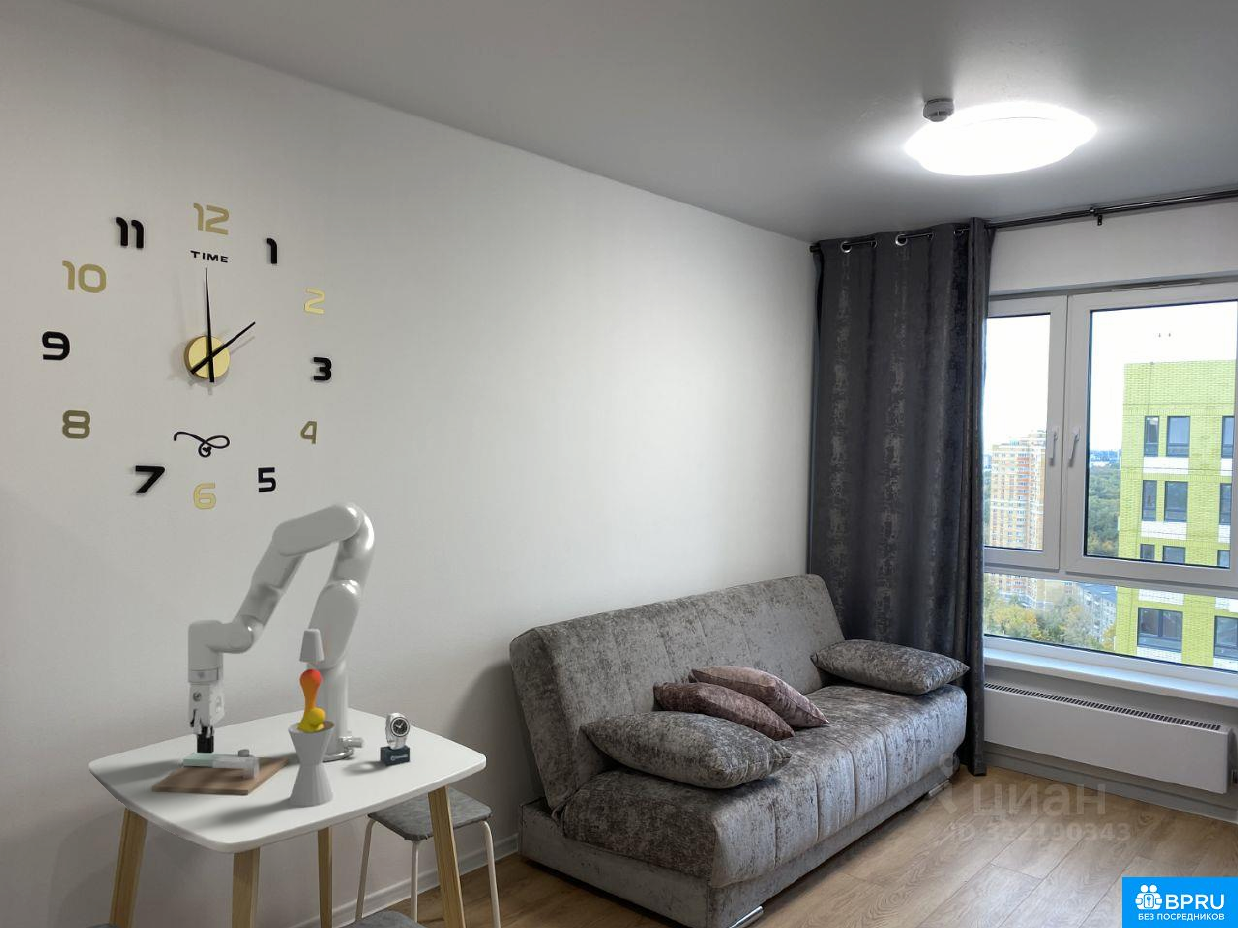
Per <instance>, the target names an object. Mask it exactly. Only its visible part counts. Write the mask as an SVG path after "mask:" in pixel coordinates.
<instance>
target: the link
mask: <svg viewBox="0 0 1238 928" xmlns="http://www.w3.org/2000/svg"><path fill="white" fill-rule="evenodd" d="M219 756H228V757H238V753H235V754H233V753H231V754H230V753H211V754H209V753H197V752H192V753H190V754H188V755H187V756H186V757H183V759H182V767H183V766H212V761H213V760H214V759H216V758H217V757H219ZM249 757H255V755H253V754H249Z"/></svg>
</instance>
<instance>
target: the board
mask: <svg viewBox="0 0 1238 928" xmlns="http://www.w3.org/2000/svg"><path fill="white" fill-rule="evenodd" d="M237 754H238V757H249V755H250V749H247V748H246V749H245V748H244V749H239V750H237ZM257 757H258V758H259V775H258V776H257V777H256V778H254V779H247V778H243V769H236V768H212V766H183V765H182V767H181V768H178V769H177V770H176V771H174V772H172V773H171V774H170V775H167V776H166V777H165V778H163V779H161V780H160V781H157V782H156V783H155V784H153V785H152V786H151V791H152V792H170V793H171V792H172V793H195V794H196V793H199V794H200V793H202V794H221V795H223V794H226V795H228V794H229V795H249V794H251V793H252V792H253V791H254V790H256V789H258V787H260V786H261V785H263V783H265V782H266V781H268V780H269V779H270V778H272V777H273V776H274V775H276V773H278V772H279V771H280V770H282V769H283V768H284V767H286V766H287V765H289V764H290V757H271V756H270V757H269V756H267V757H266V756H257Z"/></svg>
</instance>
